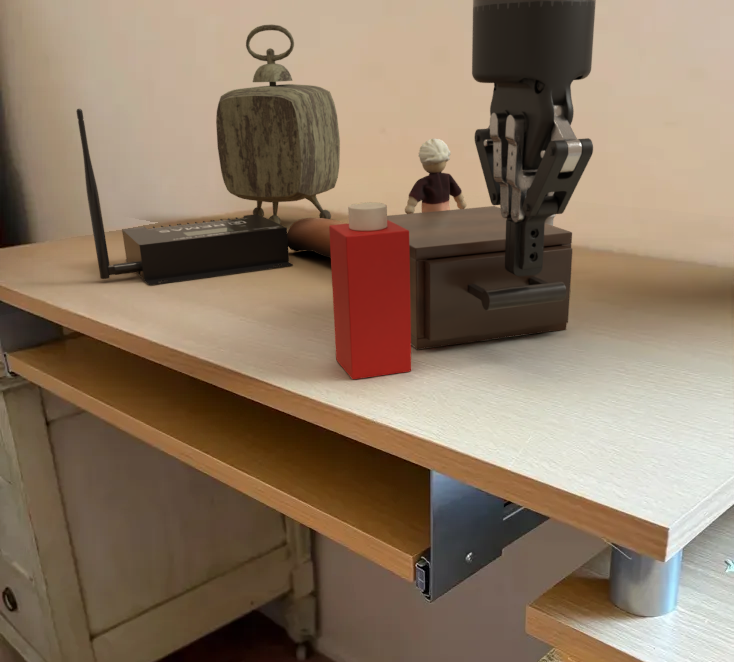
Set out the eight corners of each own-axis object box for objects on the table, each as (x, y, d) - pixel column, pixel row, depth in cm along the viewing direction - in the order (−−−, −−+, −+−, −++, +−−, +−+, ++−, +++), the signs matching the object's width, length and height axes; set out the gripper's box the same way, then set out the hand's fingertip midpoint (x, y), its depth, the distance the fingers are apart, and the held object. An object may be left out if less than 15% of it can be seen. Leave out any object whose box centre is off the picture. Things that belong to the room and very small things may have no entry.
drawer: (597, 338, 61) (603, 259, 59) (451, 359, 58) (451, 276, 56) (498, 285, 76) (499, 221, 74) (378, 300, 73) (375, 233, 71)
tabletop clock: (343, 220, 115) (334, 22, 105) (313, 233, 107) (300, 20, 98) (254, 216, 120) (237, 28, 111) (219, 228, 113) (198, 27, 103)
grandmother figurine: (445, 251, 95) (444, 134, 90) (470, 255, 92) (472, 136, 87) (396, 263, 90) (394, 141, 85) (422, 268, 87) (421, 143, 82)
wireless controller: (255, 243, 102) (242, 96, 96) (294, 265, 91) (283, 98, 84) (88, 264, 95) (62, 105, 88) (107, 291, 83) (78, 110, 76)
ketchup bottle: (391, 352, 63) (388, 198, 58) (411, 371, 59) (409, 207, 54) (335, 360, 62) (327, 203, 57) (352, 380, 58) (344, 213, 53)
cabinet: (566, 329, 66) (572, 232, 63) (417, 350, 63) (415, 248, 60) (492, 289, 79) (494, 205, 76) (363, 304, 75) (360, 217, 72)
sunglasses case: (437, 263, 86) (410, 212, 83) (390, 307, 85) (360, 257, 81) (346, 238, 101) (319, 193, 97) (305, 276, 99) (275, 231, 95)
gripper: (648, -11, 47) (622, 290, 53) (538, 5, 58) (528, 250, 65) (526, -9, 45) (515, 302, 51) (439, 7, 56) (439, 259, 63)
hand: (523, 272), depth 58 cm, fingers closed
